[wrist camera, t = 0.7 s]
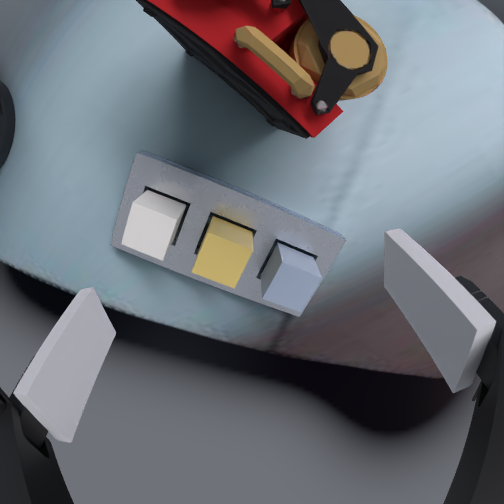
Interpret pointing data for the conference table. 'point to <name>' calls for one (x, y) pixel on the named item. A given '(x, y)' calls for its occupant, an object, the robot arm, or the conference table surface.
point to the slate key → (289, 278)
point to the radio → (281, 54)
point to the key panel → (229, 206)
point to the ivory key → (153, 224)
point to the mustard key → (223, 252)
